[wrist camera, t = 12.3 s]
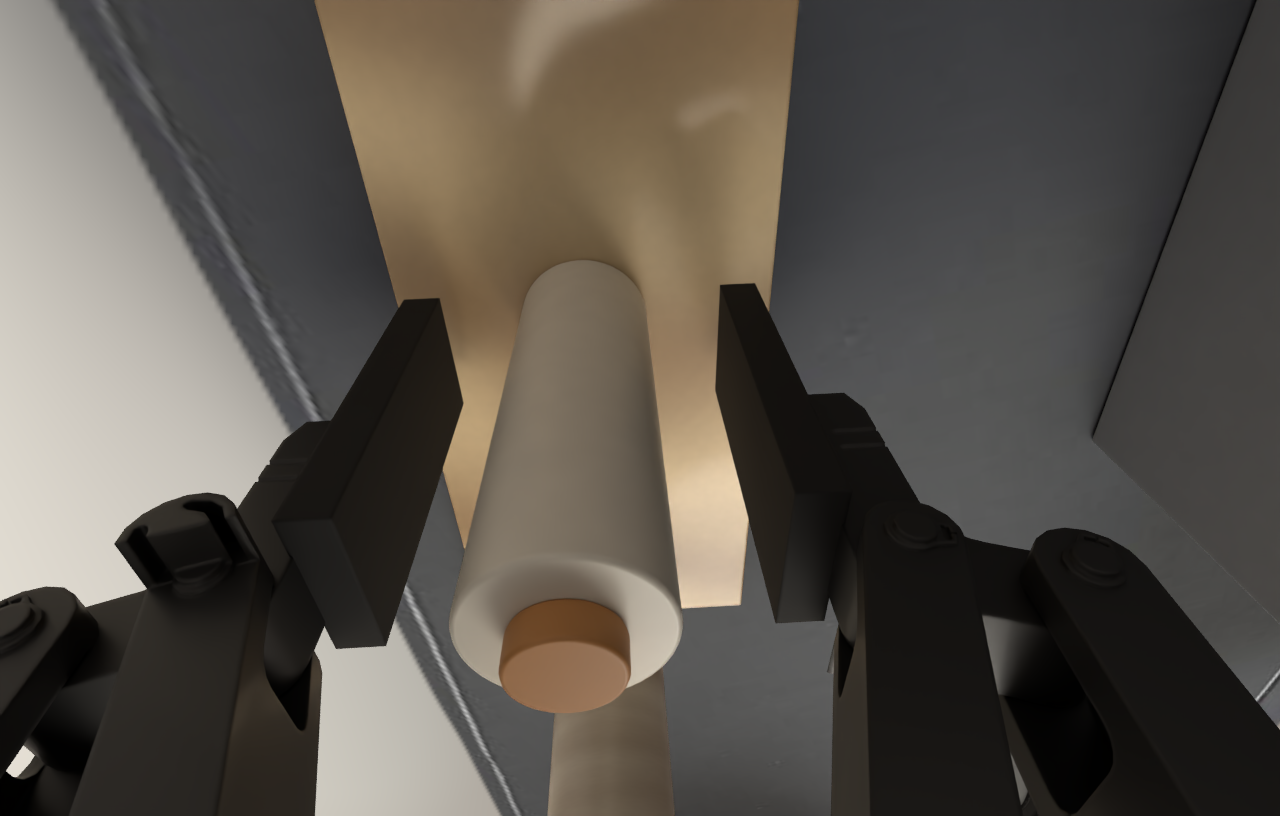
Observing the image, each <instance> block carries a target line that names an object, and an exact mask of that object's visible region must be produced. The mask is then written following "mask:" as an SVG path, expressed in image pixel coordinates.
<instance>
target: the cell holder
mask: <svg viewBox="0 0 1280 816" xmlns="http://www.w3.org/2000/svg"><path fill="white" fill-rule="evenodd" d="M314 1H315V5H316V9H317V12H318V16H319V20H320V23H321V27H322V31H323V34H324V38H325V41H326V45H327V49H328V52H329V56H330V60H331V63H332V67H333V71H334V74H335V78H336V82H337V85H338V89H339V93H340V96H341V100H342V104H343V107H344V111H345V115H346V118H347V122H348V126H349V129H350V133H351V136H352V140H353V144H354V147H355V151H356V155H357V158H358V162H359V166H360V169H361V173H362V177H363V180H364V184H365V188H366V191H367V195H368V199H369V202H370V206H371V210H372V213H373V217H374V221H375V224H376V228H377V231H378V235H379V239H380V242H381V246H382V250H383V253H384V257H385V261H386V264H387V268H388V272H389V275H390V279H391V283H392V286H393V290H394V294H395V297H396V301H397V305H398V308H399V307H400V305H401V303H402V302H403V300H405V299H426V298H440V302H441V306H442V311H443V315H444V319H445V324H446V328H447V332H448V337H449V341H450V345H451V350H452V354H453V358H454V363H455V367H456V371H457V376H458V380H459V384H460V389H461V393H462V397H463V402H464V404H463V407H462V410H461V413H460V417H459V420H458V423H457V426H456V429H455V432H454V435H453V438H452V441H451V445H450V448H449V451H448V454H447V457H446V460H445V463H444V466H443V473H444V476H445V480H446V484H447V487H448V491H449V495H450V498H451V502H452V506H453V509H454V513H455V516H456V520H457V524H458V527H459V531H460V535H461V538H462V542H463V546H464V549H465V548H466V544H467V539H468V535H469V531H470V527H471V523H472V518H473V514H474V510H475V506H476V502H477V497H478V493H479V489H480V485H481V481H482V476H483V472H484V468H485V464H486V460H487V455H488V451H489V447H490V443H491V439H492V434H493V430H494V426H495V422H496V418H497V413H498V409H499V405H500V401H501V397H502V393H503V388H504V384H505V380H506V376H507V372H508V367H509V363H510V359H511V355H512V351H513V346H514V342H515V338H516V334H517V330H518V325H519V321H520V317H521V313H522V309H523V304H524V300H525V298H526V295H527V293H528V291H529V289H530V287H531V286H532V284H533V283H534V282H535V280H536V279H537V278H538V277H539V276H540V275H542V274H543V273H544V272H546V271H547V270H549V269H550V268H552V267H554V266H556V265H559V264H561V263H565V262H569V261H575V260H591V261H597V262H601V263H605V264H607V265H610V266H612V267H614V268H616V269H618V270H619V271H621V272H622V273H624V274H625V275H626V276H627V277H628V278H629V279H630V280H632V282H633V283H634V284H635V285H636V287H637V288H638V290H639V291H640V293H641V295H642V298H643V300H644V304H645V307H646V315H647V324H648V332H649V340H650V349H651V357H652V365H653V374H654V382H655V391H656V399H657V407H658V416H659V424H660V432H661V441H662V449H663V457H664V466H665V474H666V482H667V491H668V499H669V507H670V516H671V524H672V533H673V541H674V549H675V558H676V566H677V574H678V583H679V591H680V599H681V608H698V607H715V606H732V605H740V604H741V599H742V588H743V578H744V567H745V557H746V547H747V536H748V526H749V519H748V515H747V511H746V507H745V503H744V500H743V496H742V492H741V488H740V484H739V480H738V476H737V473H736V469H735V465H734V461H733V457H732V453H731V450H730V446H729V442H728V438H727V434H726V430H725V426H724V423H723V419H722V415H721V411H720V407H719V403H718V400H717V396H716V392H715V382H716V360H717V339H718V317H719V295H720V285H724V284H745V283H755V284H756V286H757V288H758V290H759V293H760V295H761V297H762V299H763V301H764V303H765V305H766V307H767V309H768V312H769V308H770V297H771V287H772V277H773V266H774V256H775V245H776V235H777V225H778V214H779V204H780V194H781V183H782V173H783V162H784V152H785V142H786V131H787V121H788V110H789V100H790V90H791V79H792V69H793V59H794V48H795V38H796V27H797V17H798V7H799V0H314ZM548 816H675V811H674V798H673V786H672V774H671V762H670V750H669V738H668V726H667V714H666V702H665V690H664V677H663V666H662V667H661V668H660V669H659V670H658V671H657V672H655V673H654V674H653V675H651V676H650V677H648V678H646V679H645V680H643V681H641V682H639V683H637V684H635V685H633V686H631V687H628V688H625V690H624V691H623V692H622V693H621V694H620V695H619V696H618V697H617V698H616V699H614V700H613V701H611V702H610V703H608V704H606V705H604V706H601V707H598V708H596V709H592V710H588V711H583V712H576V713H554V728H553V743H552V758H551V773H550V788H549V803H548Z"/></svg>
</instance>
